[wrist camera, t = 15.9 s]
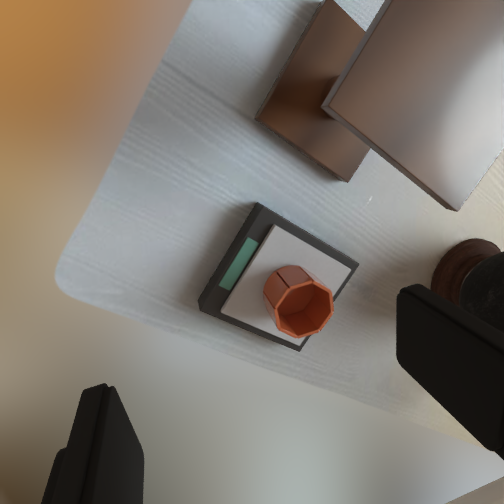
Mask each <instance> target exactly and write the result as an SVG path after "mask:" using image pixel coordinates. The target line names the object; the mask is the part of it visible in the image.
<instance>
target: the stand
mask: <svg viewBox="0 0 504 504" xmlns="http://www.w3.org/2000/svg"><path fill="white" fill-rule="evenodd" d="M255 119H256V120H257V121H258V122H260V123H261V124H263V125H264V126H265V127H267V128H268V129H270V130H271V131H272V132H274V133H275V134H277V135H278V136H279V137H281V138H282V139H283V140H285V141H286V142H288V143H289V144H290V145H292V146H293V147H295V148H296V149H297V150H299V151H300V152H302V153H303V154H304V155H306V156H307V157H309V158H310V159H311V160H313V161H314V162H316V163H317V164H318V165H320V166H321V167H323V168H324V169H325V170H327V171H328V172H330V173H331V174H332V175H334V176H335V177H337V178H338V179H339V180H341V181H344V182H347V183H348V182H349V181H350V179H351V178H352V176H353V174H354V173H355V171H356V170H357V168H358V167H359V165H360V164H361V162H362V161H363V159H364V157H365V156H366V154H367V153H368V151H369V150H370V148H372V149H373V150H374V151H375V152H376V153H378V154H379V155H380V156H381V157H383V158H384V159H385V160H386V161H388V162H389V163H390V164H391V165H393V166H394V167H395V168H396V169H398V170H399V171H400V172H401V173H403V174H404V175H405V176H406V177H407V178H409V179H410V180H411V181H412V182H414V183H415V184H416V185H417V186H419V187H420V188H421V189H422V190H424V191H425V192H426V193H427V194H429V195H430V196H431V197H432V198H434V199H435V200H436V201H437V202H438V203H440V204H441V205H442V206H443V207H445V208H446V209H449V210H452V211H456V212H458V211H459V209H460V208H461V207H462V205H463V204H464V202H465V201H466V200H467V198H468V197H469V195H470V194H471V193H472V191H473V190H474V189H475V187H476V186H477V184H478V183H479V182H480V180H481V179H482V177H483V176H484V175H485V173H486V172H487V171H488V169H489V168H490V166H491V165H492V164H493V162H494V161H495V160H496V158H497V157H498V155H499V154H500V153H501V151H502V150H503V148H504V0H385V1H384V3H383V5H382V6H381V8H380V10H379V11H378V13H377V14H376V16H375V18H374V19H373V21H372V23H371V24H370V26H369V28H368V29H367V31H366V32H365V31H364V30H363V29H362V28H361V27H360V26H359V25H358V24H357V23H356V22H355V21H354V20H353V19H352V18H351V17H350V16H349V15H348V14H347V13H346V12H345V11H344V10H343V9H342V8H341V7H340V6H339V5H338V4H337V3H336V2H335V1H334V0H323V1H322V2H321V3H320V5H319V7H318V8H317V10H316V12H315V14H314V15H313V17H312V19H311V21H310V22H309V24H308V26H307V28H306V29H305V31H304V33H303V35H302V36H301V38H300V40H299V42H298V43H297V45H296V47H295V49H294V50H293V52H292V54H291V56H290V57H289V59H288V61H287V63H286V64H285V66H284V68H283V69H282V71H281V73H280V75H279V76H278V78H277V80H276V82H275V83H274V85H273V87H272V89H271V90H270V92H269V94H268V96H267V97H266V99H265V101H264V103H263V104H262V106H261V108H260V110H259V111H258V113H257V115H256V117H255Z"/></svg>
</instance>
